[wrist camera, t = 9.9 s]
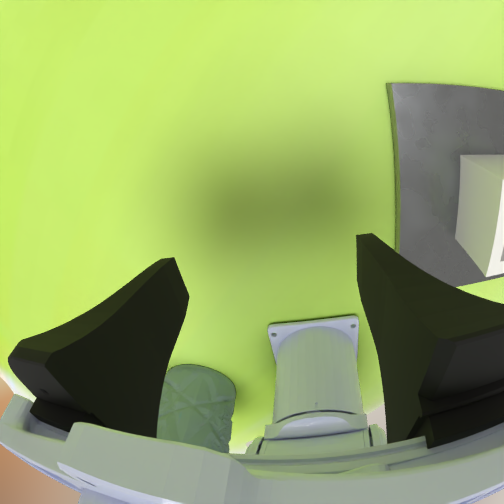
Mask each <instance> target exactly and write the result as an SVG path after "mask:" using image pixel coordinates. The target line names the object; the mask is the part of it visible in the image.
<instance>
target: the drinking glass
mask: <svg viewBox="0 0 504 504" xmlns="http://www.w3.org/2000/svg"><path fill="white" fill-rule="evenodd" d="M235 396H236V390H235V386H234V384H233V383H232V381H231V380H230V379H229V378H227V377H226V376H225V375H223V374H221V373H220V372H218V371H215V370H213V369H210V368H207V367H203V366H199V365H191V364H184V365H178V366H175V367H173V368H171V369H170V370H169V371H168V373H167V374H166V376H165V379H164V384H163V389H162V395H161V401H160V407H159V415H158V425H157V439H162V440H168V441H175V442H181V443H186V444H190V445H195V446H201V447H206V448H208V449H211V450H214V451H217V452H220V453H229V444H228V443H229V441H230V439H231V429H232V421H231V417H232V415H233V411H234V404H235Z"/></svg>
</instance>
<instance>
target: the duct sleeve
mask: <svg viewBox="0 0 504 504" xmlns="http://www.w3.org/2000/svg"><path fill="white" fill-rule="evenodd" d="M455 239H456V240H457V241H458V243H459V244H460V245H461V246H462V247H463V249H464V250H465V251H466V252H467V253H468V255H469V256H470V257H471V258H472V260H473V261H474V262H475V264H476V265H477V266H478V267H479V269H480V270H481V271H482V273H483V274H484V275H485V277H489V276H493V275H498V274H502V273H504V155H460V189H459V204H458V215H457V225H456V233H455Z"/></svg>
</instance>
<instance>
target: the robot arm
mask: <svg viewBox="0 0 504 504" xmlns="http://www.w3.org/2000/svg"><path fill="white" fill-rule="evenodd" d="M356 243H357V282H358V287H359V292H360V297H361V302H362V305H363V308H364V311H365V314H366V317H367V320H368V323H369V326H370V330H371V333H372V336H373V339H374V343H375V346H376V350H377V354H378V359H379V365H380V371H381V378H382V385H383V393H384V402H385V414H386V429H387V438H386V434H385V432H384V430H383V429H381V428H380V427H378V425H377V424H373V425H369V428H368V425H367V416H366V414H363V407H362V399H361V391H360V384H359V377H358V371H357V351H358V331H359V319H358V317H357V316H355V315H352V316H345V317H337V318H329V319H320V320H312V321H302V322H292V323H282V324H272V325H269V326H268V335H269V338H270V342H271V346H272V350H273V354H274V358H275V362H276V365H277V370H276V384H275V397H274V410H273V422H272V424H270V425H265V434H264V437H257V438H256V439H255V440H254V441H253V442H252V444H251V445H250V446H249V447H248V448H247V450H246V453H245V454H231V453H220V452H217V451H214V450H211V449H208V448H206V447H201V446H195V445H190V444H186V443H181V442H175V441H168V440H162V439H157V425H158V415H159V407H160V401H161V395H162V389H163V384H164V379H165V375H166V370H167V366H168V363H169V360H170V357H171V354H172V351H173V349H174V346H175V343H176V341H177V338H178V335H179V333H180V330H181V327H182V324H183V322H184V319H185V315H186V311H187V306H188V301H189V294H188V291H187V289H186V286H185V284H184V281H183V279H182V276H181V274H180V271H179V269H178V266H177V263H176V261H175V258H174V257H172V258H164V259H160V260H159V261H157V262H155V263H154V264H152V265H151V266H149V267H148V268H147V269H145V270H144V271H143V272H142V273H140V274H139V275H138V276H136V277H135V278H134V279H132V280H131V281H130V282H129V283H127V284H126V285H125V286H123V287H122V288H121V289H119V290H118V291H117V292H115V293H114V294H113V295H111V296H110V297H109V298H107V299H106V300H104V301H103V302H101V303H100V304H98V305H97V306H95V307H94V308H92V309H90V310H89V311H87V312H85V313H84V314H82V315H80V316H78V317H76V318H74V319H73V320H71V321H69V322H67V323H65V324H63V325H60V326H58V327H56V328H54V329H51V330H49V331H46V332H44V333H41V334H38V335H35V336H32V337H29V338H26V339H23V340H21V341H20V342H19V343H18V344H17V346H16V347H15V348H14V350H13V351H12V353H11V354H10V356H9V357H8V363H9V366H10V368H11V369H12V371H13V373H14V374H15V375H16V376H17V377H18V379H19V380H20V381H21V382H22V383H23V384H24V385H25V386H26V387H27V388H28V389H29V390H30V391H31V393H32V394H33V395H34V396H35V397H37V398H36V400H35V402H34V403H33V402H32V401H30V400H29V399H27V398H25V397H22V396H20V395H17V394H14V395H13V397H12V399H11V401H10V402H9V404H8V406H7V408H6V410H5V411H4V413H3V415H2V417H1V419H0V444H1V445H3V446H4V447H5V448H7V449H8V450H9V451H11V452H12V453H13V454H15V455H16V456H17V457H19V458H20V459H22V460H23V461H24V462H26V463H27V464H29V465H30V466H32V467H34V468H35V469H37V470H39V471H40V472H42V473H44V474H45V475H47V476H49V477H51V478H52V479H55V480H56V481H58V482H60V483H62V484H64V485H66V486H67V487H69V488H71V489H74V490H75V491H78V492H80V493H81V496H80V499H79V502H78V504H472V503H474V502H477V501H479V500H481V499H483V498H486V497H488V496H490V495H492V494H494V493H496V492H498V491H500V490H502V489H504V304H501V303H497V302H493V301H490V300H487V299H484V298H481V297H478V296H475V295H472V294H470V293H467V292H465V291H462V290H460V289H458V288H456V287H453V286H451V285H449V284H447V283H445V282H443V281H441V280H439V279H437V278H435V277H434V276H432V275H430V274H428V273H427V272H425V271H423V270H422V269H420V268H419V267H417V266H416V265H414V264H413V263H411V262H409V261H408V260H407V259H405V258H404V257H402V256H401V255H400V254H398V253H397V252H396V251H394V250H393V249H392V248H391V247H389V246H388V245H387V244H385V243H384V242H383V241H382V240H380V239H379V238H378V237H376V236H375V235H374V234H372V233H369V234H361V235H356ZM352 324H354V325H352ZM273 333H276V334H273Z"/></svg>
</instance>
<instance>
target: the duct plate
mask: <svg viewBox="0 0 504 504" xmlns="http://www.w3.org/2000/svg"><path fill="white" fill-rule="evenodd" d="M386 85H387V92H388V99H389V107H390V115H391V124H392V134H393V146H394V161H395V183H396V240H395V251H396V252H397V253H398V254H400V255H401V256H402V257H404V258H405V259H407V260H408V261H409V262H411V263H413V264H414V265H416V266H417V267H419V268H420V269H422V270H423V271H425V272H427V273H428V274H430V275H432V276H434V277H435V278H437V279H439V280H441V281H443V282H445V283H447V284H449V285H451V286H453V287H458V286H463V285H468V284H473V283H477V282H482V281H486V280H491V279H495V278H500V277H504V273H502V274H498V275H493V276H489V277H485V275H484V274H483V273H482V271H481V270H480V269H479V267H478V266H477V265H476V264H475V262H474V261H473V260H472V258H471V257H470V256H469V255H468V253H467V252H466V251H465V250H464V249H463V247H462V246H461V245H460V244H459V243H458V241H457V240H456V239H455V233H456V225H457V215H458V204H459V189H460V155H504V91H501V90H495V89H488V88H480V87H470V86H460V85H446V84H425V83H386Z"/></svg>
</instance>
